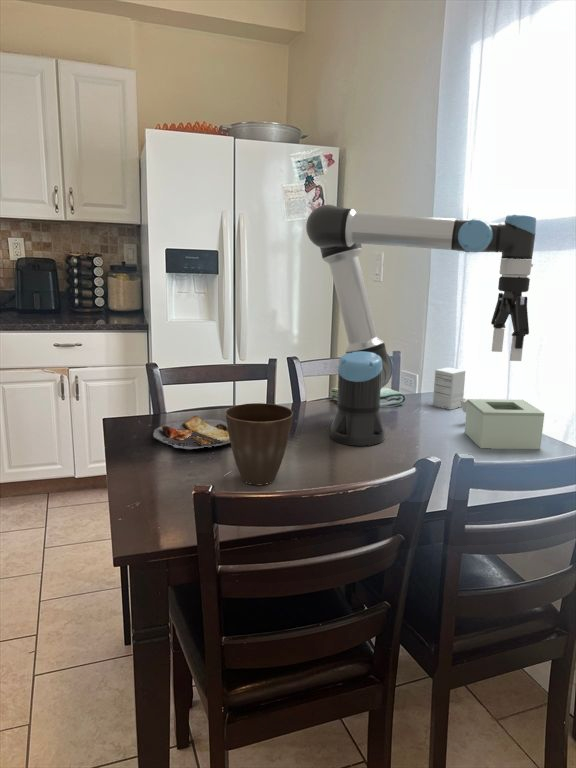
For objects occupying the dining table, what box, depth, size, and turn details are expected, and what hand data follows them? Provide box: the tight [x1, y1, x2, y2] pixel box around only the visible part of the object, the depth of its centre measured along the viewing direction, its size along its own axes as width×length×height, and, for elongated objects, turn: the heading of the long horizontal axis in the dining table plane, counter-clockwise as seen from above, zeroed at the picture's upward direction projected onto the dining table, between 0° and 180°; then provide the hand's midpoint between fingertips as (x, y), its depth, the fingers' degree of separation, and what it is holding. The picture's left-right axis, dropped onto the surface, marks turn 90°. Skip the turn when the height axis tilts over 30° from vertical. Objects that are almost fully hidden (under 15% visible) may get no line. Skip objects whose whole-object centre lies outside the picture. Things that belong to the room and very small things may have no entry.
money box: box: [464, 398, 545, 450], centre depth 159 cm, size 16×14×10 cm
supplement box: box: [432, 366, 466, 411], centre depth 193 cm, size 7×7×13 cm
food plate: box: [152, 415, 231, 450], centre depth 158 cm, size 25×23×4 cm
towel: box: [329, 386, 407, 409], centre depth 199 cm, size 18×21×5 cm
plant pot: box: [224, 402, 294, 484], centre depth 128 cm, size 15×15×16 cm
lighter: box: [460, 398, 468, 414], centre depth 174 cm, size 7×2×8 cm, turn 118°
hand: (505, 356), depth 155 cm, fingers open, 13 cm apart
